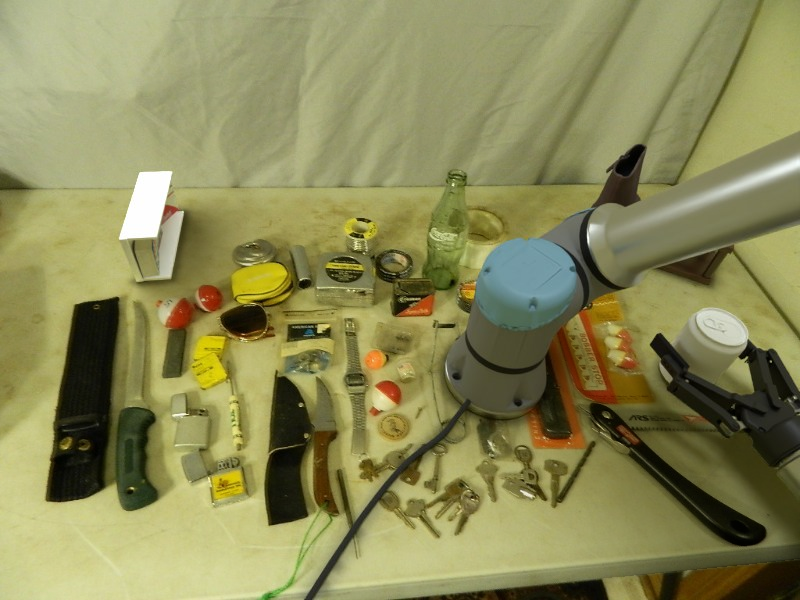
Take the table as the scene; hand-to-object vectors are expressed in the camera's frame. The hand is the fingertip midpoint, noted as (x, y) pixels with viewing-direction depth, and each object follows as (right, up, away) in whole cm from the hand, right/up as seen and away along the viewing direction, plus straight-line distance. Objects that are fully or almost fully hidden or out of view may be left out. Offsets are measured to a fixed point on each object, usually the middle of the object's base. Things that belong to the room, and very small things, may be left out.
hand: (686, 330), depth 82 cm
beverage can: (+1, -7, +2) cm, 8 cm away
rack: (+10, +14, +23) cm, 29 cm away
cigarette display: (-88, +15, +15) cm, 91 cm away
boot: (-2, +18, +26) cm, 32 cm away
